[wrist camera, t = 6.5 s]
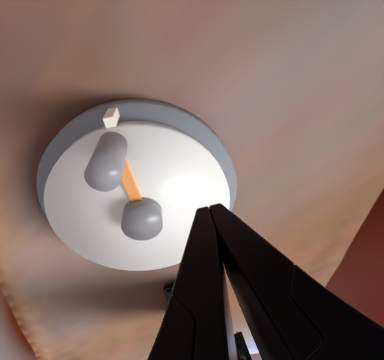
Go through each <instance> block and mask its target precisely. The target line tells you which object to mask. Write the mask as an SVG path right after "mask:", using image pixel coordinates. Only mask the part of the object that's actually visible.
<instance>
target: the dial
mask: <svg viewBox="0 0 384 360" xmlns="http://www.w3.org/2000/svg"><path fill="white" fill-rule="evenodd" d="M217 203H221V204H222V205H224V206H225V207H226V208H227V209H228V210H229V206H230V192H229V187H228V183H227V180H226V178H225V175H224V173H223V171H222V169H221V166H220V164H219V163H218V161H217V160H216V158H215V156H214V155H213V154H212V153H211V152H210V150H209V149H208V148H207V147H206V146H205V145H204V144H202V143H201V142H200V141H199V140H198V139H196V138H194V137H193V136H191V135H190V134H188V133H186V132H184V131H182V130H180V129H178V128H175V127H172V126H169V125H166V124H162V123H157V122H151V121H123V122H117V125H116V126H115V127H110V128H106V127H105V126H102V127H99V128H96V129H94V130H92V131H90V132H88V133H86V134H84V135H83V136H81V137H80V138H78V139H77V140H76V141H74V142H73V143H72V144H71V145H70V146H69V147H68V148H67V149H66V150H65V151H64V152H63V154H62V155H61V156H60V158H59V159H58V161H57V162H56V163H55V165H54V166H53V168H52V170H51V172H50V174H49V176H48V178H47V182H46V185H45V190H44V208H45V212H46V216H47V219H48V221H49V223H50V226H51V227H52V229H53V230H54V232H55V234H56V235H57V236H58V237H59V238H60V240H61V241H62V242H63V243H64V244H65V245H66V246H68V247H69V248H70V249H71V250H72V251H74V252H75V253H77V254H78V255H80V256H82V257H83V258H85V259H87V260H89V261H92V262H94V263H96V264H99V265H103V266H106V267H110V268H114V269H120V270H130V271H145V270H154V269H160V268H165V267H169V266H172V265H175V264H178V263H180V262H181V259H182V256H183V253H184V249H185V246H186V243H187V239H188V236H189V233H190V229H191V226H192V223H193V219H194V216H195V213H196V210H197V209H198V208H201V207H205V206H208V207H209V206H210V205H213V204H217Z"/></svg>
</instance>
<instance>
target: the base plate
mask: <svg viewBox="0 0 384 360" xmlns="http://www.w3.org/2000/svg"><path fill="white" fill-rule="evenodd" d="M123 121H151V122H157V123H162V124H166V125H169V126H172V127H175V128H178V129H180V130H182V131H184V132H186V133H188V134H190V135H191V136H193V137H194V138H196V139H198V140H199V141H200V142H201V143H202V144H204V145H205V146H206V147H207V148H208V149H209V150H210V152H211V153H212V154H213V155H214V156H215V158H216V160H217V161H218V163H219V164H220V166H221V169H222V171H223V173H224V175H225V178H226V180H227V183H228V187H229V192H230V206H229V210H230V211H232V208H233V205H234V202H235V198H236V190H237V181H236V174H235V169H234V166H233V163H232V160H231V158H230V156H229V154H228V152H227V150H226V149H225V147H224V145H223V143H222V142H221V141H220V139H219V138H218V136H217V135H216V133H215V132H214V131H213V130H212V129H211V128H210V127H209V126H208V125H207V124H206V123H204V122H203V121H202V120H201V119H199V118H198V117H197V116H195V115H193V114H192V113H190V112H188V111H187V110H184V109H182V108H180V107H177V106H175V105H172V104H169V103H165V102H162V101H157V100H150V99H122V100H114V101H111V102H107V103H103V104H100V105H97V106H95V107H92V108H90V109H88V110H86V111H84V112H83V113H81V114H79V115H78V116H76V117H75V118H73V119H72V120H71V121H70V122H69V123H67V124H66V125H65V126H64V127H63V128H62V130H61V131H60V132H59V133H58V134H57V135H56V137H55V138H54V139H53V140H52V141H51V142H50V143H49V145H48V147H47V148H46V150H45V152H44V154H43V155H42V158H41V161H40V164H39V166H38V172H37V178H36V188H37V195H38V200H39V203H40V206H41V209H42V211H43V213H44V215H45V217H46V218H47V216H46V212H45V208H44V190H45V185H46V182H47V178H48V176H49V174H50V172H51V170H52V168H53V166H54V165H55V163H56V162H57V161H58V159H59V158H60V156H61V155H62V154H63V152H64V151H65V150H66V149H67V148H68V147H69V146H70V145H71V144H72V143H73V142H74V141H76V140H77V139H78V138H80V137H81V136H83V135H84V134H86V133H88V132H90V131H92V130H94V129H96V128H99V127H102V126H105V127H106V128H110V127H115V126H116V125H117V122H123ZM47 220H48V219H47ZM48 222H49V221H48Z"/></svg>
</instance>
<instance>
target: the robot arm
mask: <svg viewBox="0 0 384 360" xmlns="http://www.w3.org/2000/svg"><path fill="white" fill-rule="evenodd" d="M223 264H224V265H223ZM224 268H225V270H226V273H227V276H228V278H229V280H230V283H231V285H232V288H233V290H234V293H235V295H236V297H237V300H238V302H239V305H240V307H241V310H242V312H243V314H244V317H245V319H246V322H247V324H248V326H249V329H250V331H251V334H252V336H253V339H254V341H255V343H256V346H257V348H258V351H259V353H260V355H261V358H262V360H384V327H382V326H381V325H379V324H378V323H376V322H375V321H373V320H372V319H370V318H369V317H367V316H366V315H364V314H363V313H361V312H360V311H358V310H357V309H355V308H354V307H352V306H351V305H349V304H348V303H346V302H345V301H343V300H342V299H341V298H339V297H338V296H336V295H335V294H334V293H332V292H331V291H329V290H328V289H326V288H325V287H324V286H322V285H321V284H320V283H318V282H317V281H316V280H315V279H313V278H312V277H311V276H309V275H308V274H307V273H306V272H304V271H303V270H302V269H301V268H300V267H298V266H297V265H294V263H293V262H292V261H291V260H290V259H288V258H287V257H286V256H285V255H284V254H282V253H281V252H280V251H279V250H277V249H276V248H275V247H274V246H273V245H271V244H270V243H269V242H268V241H266V240H265V239H264V238H263V237H262V236H260V235H259V234H258V233H257V232H255V231H254V230H253V229H252V228H251V227H249V226H248V225H247V224H246V223H244V222H243V221H242V220H241V219H240V218H238V217H237V216H236V215H235V214H233V213H232V212H231V211H230V210H228V209H227V208H226V207H225V206H224V205H222V204H221V203H217V204H213V205H210V206H209V207H208V206H205V207H201V208H198V209H197V210H196V213H195V216H194V219H193V223H192V226H191V229H190V233H189V236H188V239H187V243H186V246H185V249H184V253H183V256H182V259H181V263H180V266H179V269H178V273H177V276H176V279H175V283H174V284H170V285H166V286H165V287H164V292H165V295H166V298H167V300H168V306H167V309H166V312H165V315H164V318H163V321H162V324H161V327H160V330H159V332H158V335H157V337H156V340H155V342H154V345H153V347H152V350H151V352H150V355H149V357H148V359H147V360H252V359H251V356H250V354H249V351H248V348H247V346H246V343H245V340H244V338H243V335H242V332H236V334H234V331H233V325H232V318H231V311H230V304H229V297H228V290H227V283H226V276H225V270H224Z"/></svg>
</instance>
